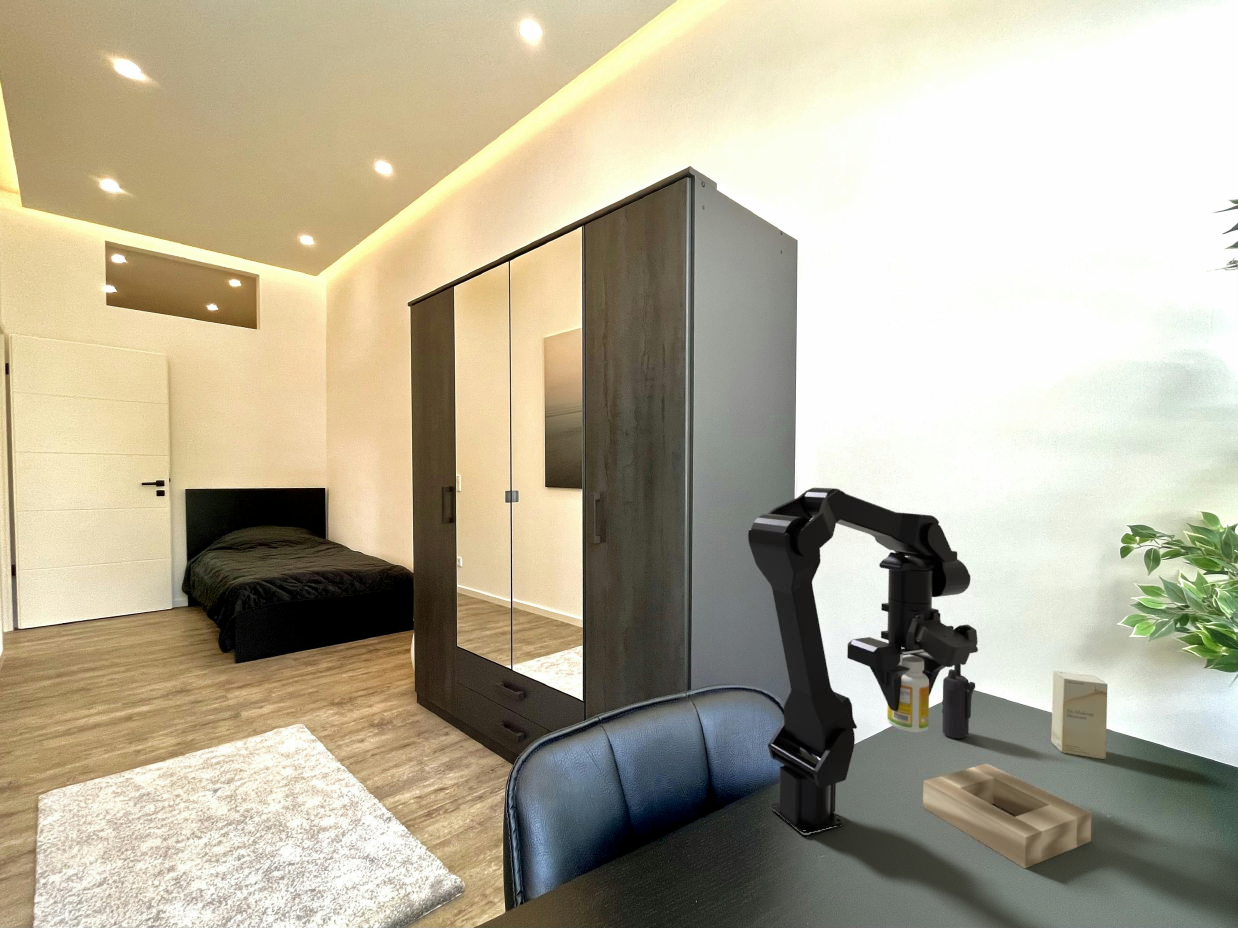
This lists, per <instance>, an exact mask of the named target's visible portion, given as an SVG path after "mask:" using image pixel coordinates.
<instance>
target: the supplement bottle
mask: <svg viewBox="0 0 1238 928" xmlns="http://www.w3.org/2000/svg"><path fill="white" fill-rule="evenodd" d="M902 666H905V667H907V668H910V670H909V671H908V672H906V673H905V674H904V675H903V676H902V678H901V689H900V701H899V707H898V711H893V710H891V709H890V708H889V706H888V705H887V710H886V711H887V721H888V723H889V724H890V725H891V726H892V727H894V728H896V729H899V730H901V731H905V732H911V733H923V732H926V731H927V730H928V729H929V723H930V722H929V721H930V720H929V718H930V717H929V713H930V711H929V710H930V695H929V679H928V677H927V676H926V675H925V674H923V673H922V671H923V670H924V660H923V659H922V658H920V657H917V656H914V655H904V656H903V657H902Z"/></svg>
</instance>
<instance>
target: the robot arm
mask: <svg viewBox="0 0 1238 928" xmlns="http://www.w3.org/2000/svg"><path fill="white" fill-rule="evenodd" d="M836 525H840V526H844V527H846V528H849V529H853V530H855V531H859V532H862V533H865V534H868V535H870V536H871V537H874V540H875V541H876V543H878V544H879V545H881V546H883V547H884V548H886V549H887V550H889V551H892V552H889V554H888V556H886V557H885V558H884V559H882V560H881V561H880V562H879V565H878V566H879V568H881V569H887V570H888V579H887V580H888V582H887V583H888V585H887V586H888V587H887V589H888V591H887V594H888V595H887V602H883V603H881V607H880V608H881V611H882V612H886V613H887V630H881V631H880V638H881V639H882V640H879V639H877V638H874V637H870V636H868V637H860V638H852V639H851V640H850V641H849V642H848V643H847V650H846V651H847V652H846V654H847V655H846V656H847V659H848V660H851V661H853V662H856V663H860V665H861V664H862V665H864V666H866V667H869V668H870V670H871V672H872V674H873V675H874V677H875V679H876V682H877V683H878V685H879V689H880V691H881V692H882V694H883V696H884V699H885V701H886V703H887V707H888V706H889V708H890V709H891V710H893V711H898V707H899V701H900V689H901V678H902V676H903V675H904V674H905V673H906V672H908V671H909V670H910V668H907V667H905V666H902V657H903V656H904V655H914V656H917V657H920V658H922V659H923V660H924V670H923V671H922V673H923V674H925V675H926V676H927V677H928V679H929V696H930V695H931V693H932V690H933V688H934V685H935V682H936V680H937V678H938V677H939V673H940V672H941V671H942V670H944V669H945V668H951V667H954V665H958V664H961V666H963V665H964V666H965V665H966V664H967V661H968V660H969V656H970V654H976V653H978V652H979V648H978V646H977V645H978V642H979V641H978V632H977V629H976V628H974V627H972V626H971V625H970V624H961V625H957V626H956V627H955V626H953V625H946V624H945V623H942V620H941V613H940V612H939V609H938V608H933V598H939V597H948V596H955V595H956V596H957V595H960V594H963V593H964V592H965V591H967V589H968V588H969V586H970V584H971V574H970V572H969V570H968V568H967V566H966V564H964V562H963V561H961V560H960V559H958V551H955V550H952V548H951V546H950V544H949V541H948V540H947V537H946V534H945V532H944V530H943V528H942V526H941V525H940V521H939V520H938V518H937V517H935V516H934V515H931V514H930V515H929V514H919V513H909V512H908V513H907V512H899V511H898V512H896V511H894V510H891V509H889V508H885V507H883V506H880V505H878V504H875V503H872V502H869V501H866V500H865V499H861V498H858V497H857V496H853V495H850V494H848V493H846V492H844V491H843V490H841V489H839V488H832V487H812V488H809V489H807V490H805V491H804V492H803V493H801V494H800V495H799V496H798V497H796V498H794V499H791V500H789V501H787V502H785V503H783V504H781V505H778V506H776V507H774V508H773V509H771V510H770V511H769V512H768V513H765V514H761V515H760V516H758V517H757V518H756V519H755V520H754V522H753V523H752V525H751V528H749V529H748V535H747V538H748V540H747V541H748V544H749V548H750V550H751V553H752V556H753V560H754V562H755V565H756V566H757V568H758V569H759V571H760V572H761V573H762V575H763V576H764V577H765V579H766V580H767V582H768V583H769V585H770V586H771V590H772V595H773V601H774V606H775V611H776V617H777V621H778V627H779V632H780V637H781V638H780V639H781V642H782V643H781V644H782V648H783V653H784V658H785V664H786V668H787V669H786V670H787V673H788V679H789V684H790V691H789V694H788V696H787V697H786V699H785V702H784V704H783V718H784V719H783V720H782V722H781V724H780V725H779V727H778V728H777V730H776V731H775V733H774V734H773V735H772V737H771V739H770V740H769V742H768V744H767V749H768V752H769V756H770V758H771V759H772V760H774V761H777V762H778V763H780V764H782V766H779V791H778V792H779V793H778V794H779V797H778V798H779V800H778V801H779V802H775V803H772V804H770V808H771V807H772V808H773V809H775V810H776V811H777V812H778V813H779V814H780V815H781V816H782V817H783V818H784V819H785V820H787V821H788V822H789V823H790V824H792V825H793V826H794V827H796V828H797V829H798V830H799V831H801V832H803V833H809V832H814V831H818V830H822V829H826V828H829V827H834V826H839V827H841V826H840V825H842V824H844V821H843V819H842V818H840V817H839V816H838V815H836V814H835V812H836V792H837V791H836V789H837V784H838V783H841V782H844V781H846V780H847V776H848V773H849V768H850V765H851V761H852V757H853V753H854V749H855V748H854V747H855V743H856V740H855V739H856V737H855V731H854V729H855V730H856V729H857V728H858V726H857V724H856V723H855V720H854V715H853V703H852V702H851V699H850V697H847V696H845V695H843V694H841V693H838V692H835V690H833V688H832V686H831V681H830V675H829V671H828V665H827V658H826V653H825V648H824V641H823V638H822V633H821V632H822V631H821V625H820V621H819V615H818V610H817V609H818V608H817V603H816V598H815V594H814V593H815V592H814V587H813V581H814V579H815V575H816V573H817V572H818V569H819V567H820V564H821V548H822V547H823V546H825V545H826V544H827V543H828V542H829V541H830V540H831V539H832V538H833V536H834V533H835V529H836ZM893 551H894V552H893ZM954 627H955V628H954ZM883 640H886V641H888V642H886V641H883ZM802 749H803V750H802ZM774 805H775V806H777V807H773V806H774ZM785 820H784V821H785ZM842 826H843V825H842ZM803 830H806V831H803Z"/></svg>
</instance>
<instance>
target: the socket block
mask: <svg viewBox="0 0 1238 928" xmlns="http://www.w3.org/2000/svg"><path fill="white" fill-rule="evenodd" d="M922 787H923V790H922V791H923V793H922V797H923V799H922V808H923V807H924V808H923V809H925V810H926V811H928V812H930V813H931V814H933V815H934V816H936V817H938V818H940V819H942V820H943V821H945V822H947V823H948V824H950V825H951V826H954V827H955V828H957V829H958V830H960V831H962V832H964V833H965V834H967V835H968V836H970V837H972V838H974V839H975V840H977V841H979V842H981V844H984V845H985V846H987V847H989V848H991V849H992V850H994V851H995V852H997V853H998V854H1001V856H1004V857H1006V859H1009V860H1010V861H1012V862H1013V863H1015V864H1017V865H1018V866H1021V867H1022V868H1023V869H1027V868H1029V867H1031V866H1034V865H1036V864H1039V863H1041V862H1044V861H1046V860H1050V859H1051V858H1052V859H1053V858H1054V857H1057V856H1059V855H1061V854H1064V853H1066V852H1069V851H1071V850H1074V849H1076V848H1079V847H1081V846H1083V845H1085V844H1089V843H1090V842H1092V812H1091V811H1088V810H1087V809H1084V808H1082V807H1081V806H1078V805H1076V804H1074V803H1071V802H1069V801H1067V800H1065V799H1063V798H1061V797H1060V796H1057V795H1055V794H1052V793H1050V792H1048V791H1046V790H1044V789H1041V788H1039V787H1037V786H1035V785H1033V784H1031V783H1029V782H1028V781H1027V782H1026V781H1024V780H1022V779H1021V778H1018V777H1016V776H1014V775H1012V774H1009V773H1007V772H1005V771H1004V770H1001V769H1000V768H997V767H994V766H992V765H991V764H989V763H983V764H980V765H977V766H973V767H969V768H965V769H963V770H962V769H961V770H959V771H955V772H951V773H948V774H943V775H940V776H936V777H933V778H928V779H925V780H923V786H922ZM993 804H994V805H993ZM995 805H996V806H997V807H996V806H995ZM1006 811H1007V812H1006ZM1008 812H1009V813H1008Z"/></svg>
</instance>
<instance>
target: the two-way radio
mask: <svg viewBox="0 0 1238 928" xmlns="http://www.w3.org/2000/svg"><path fill="white" fill-rule="evenodd" d="M961 666H962V665H961V664H958V665H954V666H953V667H954V668H953V669H949V670H948V675H947V676H945V677H944V678H943V681H942V701H941V702H942V703H941V704H942V710H941V712H942V733H943V735H944V736H946V737H949V738H952V739H956V740H957V739H963V738H966V737H967V736H968V735H969V731H970V730H969V726H970V725H969V721H970V718H971V717H972V715H971V714H972V698H973V693H974V690H975V689H976V682H973V681H969V679H967V678H966V676H965V675H962V674H961V673H962V669H961V668H962V667H961Z"/></svg>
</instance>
